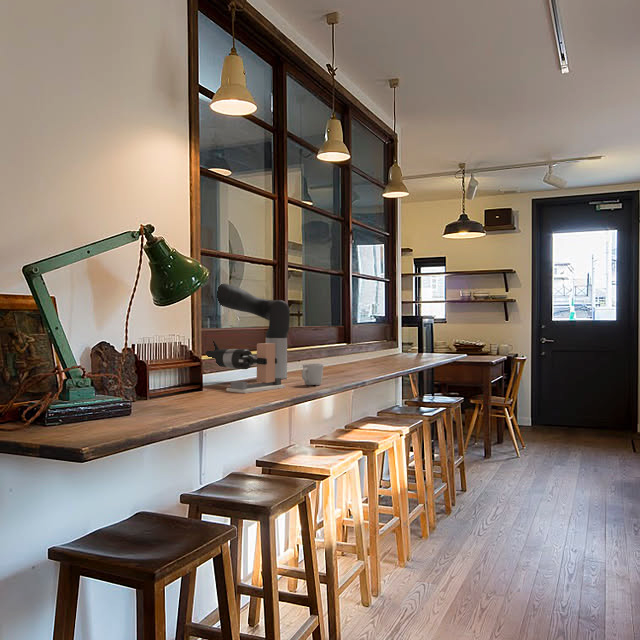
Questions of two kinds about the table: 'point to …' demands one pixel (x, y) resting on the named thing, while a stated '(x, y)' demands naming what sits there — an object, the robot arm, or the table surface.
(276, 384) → the rail board
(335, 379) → the table surface
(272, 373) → the block
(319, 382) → the cup
